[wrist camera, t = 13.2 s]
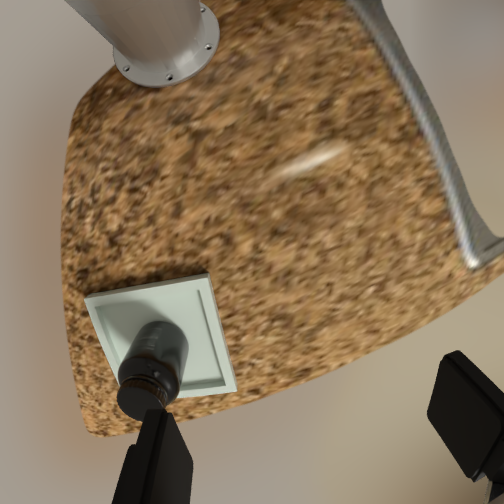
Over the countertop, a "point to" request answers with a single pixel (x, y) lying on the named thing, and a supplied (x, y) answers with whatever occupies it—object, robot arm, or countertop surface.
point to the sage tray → (177, 313)
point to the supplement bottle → (152, 369)
